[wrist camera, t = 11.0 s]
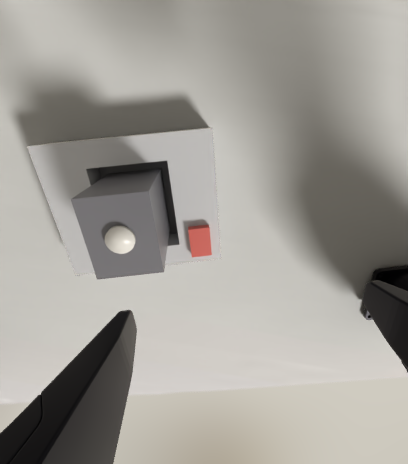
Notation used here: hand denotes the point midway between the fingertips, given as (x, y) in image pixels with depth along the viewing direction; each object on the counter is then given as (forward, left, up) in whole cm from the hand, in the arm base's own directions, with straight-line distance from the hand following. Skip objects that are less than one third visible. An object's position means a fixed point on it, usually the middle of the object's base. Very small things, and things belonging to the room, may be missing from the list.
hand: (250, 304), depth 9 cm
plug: (+6, -1, -12) cm, 14 cm away
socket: (+6, -1, -12) cm, 14 cm away
